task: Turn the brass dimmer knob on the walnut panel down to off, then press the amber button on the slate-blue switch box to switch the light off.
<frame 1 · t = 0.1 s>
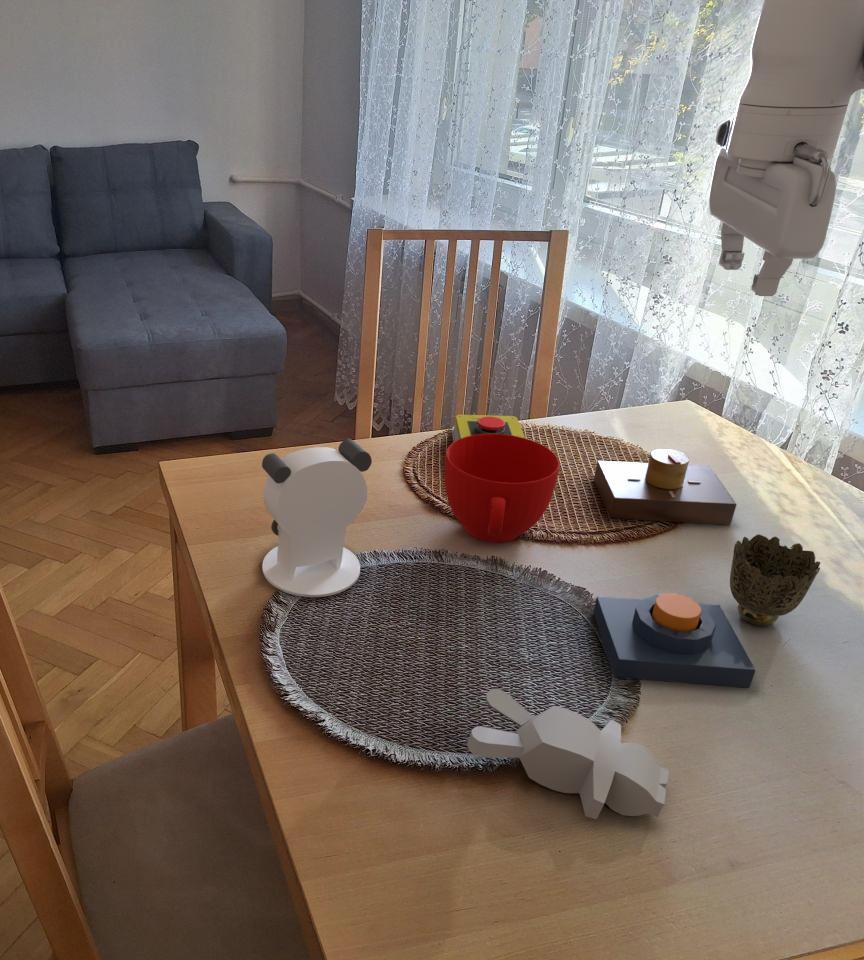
hand: (745, 280, 88), 31 cm above the table, tool pointing down, fingers open, 8 cm apart
panda figurine: (313, 568, 100), on the table
dimmer panel: (658, 501, 111), on the table
dimmer knob: (667, 467, 108), point 5 cm above the table, hinge at 100.0°
light button: (676, 612, 84), point 4 cm above the table, slide at 0.1 cm
bunny figurine: (562, 775, 72), on the table
switch box: (666, 648, 86), on the table
cup: (755, 619, 90), on the table
ceramic cup: (491, 538, 105), on the table
emergency button: (488, 453, 124), on the table
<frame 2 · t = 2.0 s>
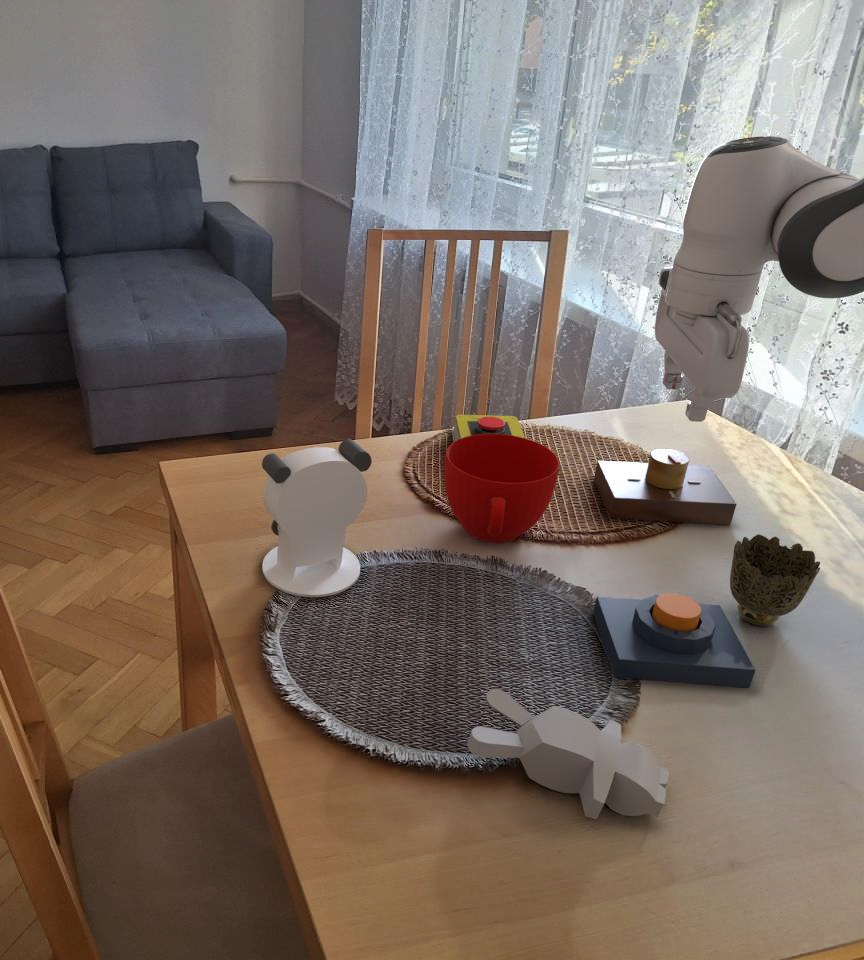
hand: (681, 402, 104), 14 cm above the table, tool pointing down, fingers open, 8 cm apart
nothing on the table moved.
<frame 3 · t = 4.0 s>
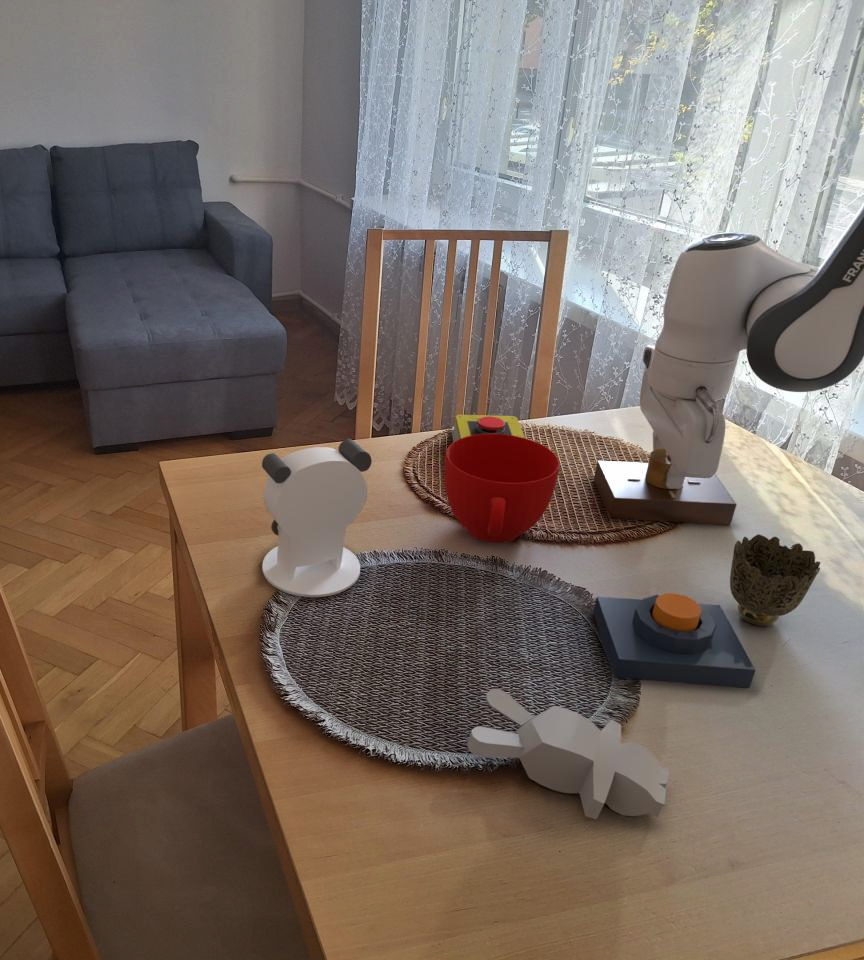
hand: (665, 474, 109), 4 cm above the table, tool pointing down, fingers closed on dimmer knob, 4 cm apart
dimmer knob: (667, 467, 108), point 5 cm above the table, hinge at 100.0°, touching gripper
everything else where it was.
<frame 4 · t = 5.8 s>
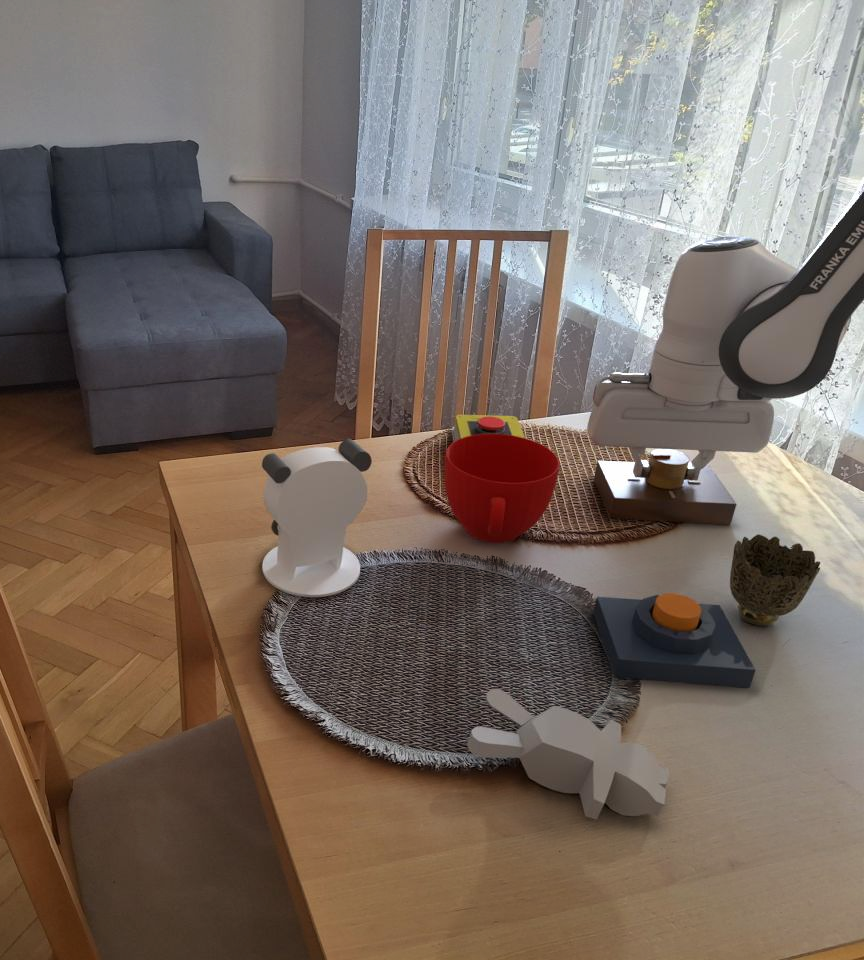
hand: (664, 476, 109), 4 cm above the table, tool pointing down, fingers closed on dimmer knob, 4 cm apart
dimmer knob: (667, 467, 108), point 5 cm above the table, hinge at 6.9°, touching gripper
everything else where it was.
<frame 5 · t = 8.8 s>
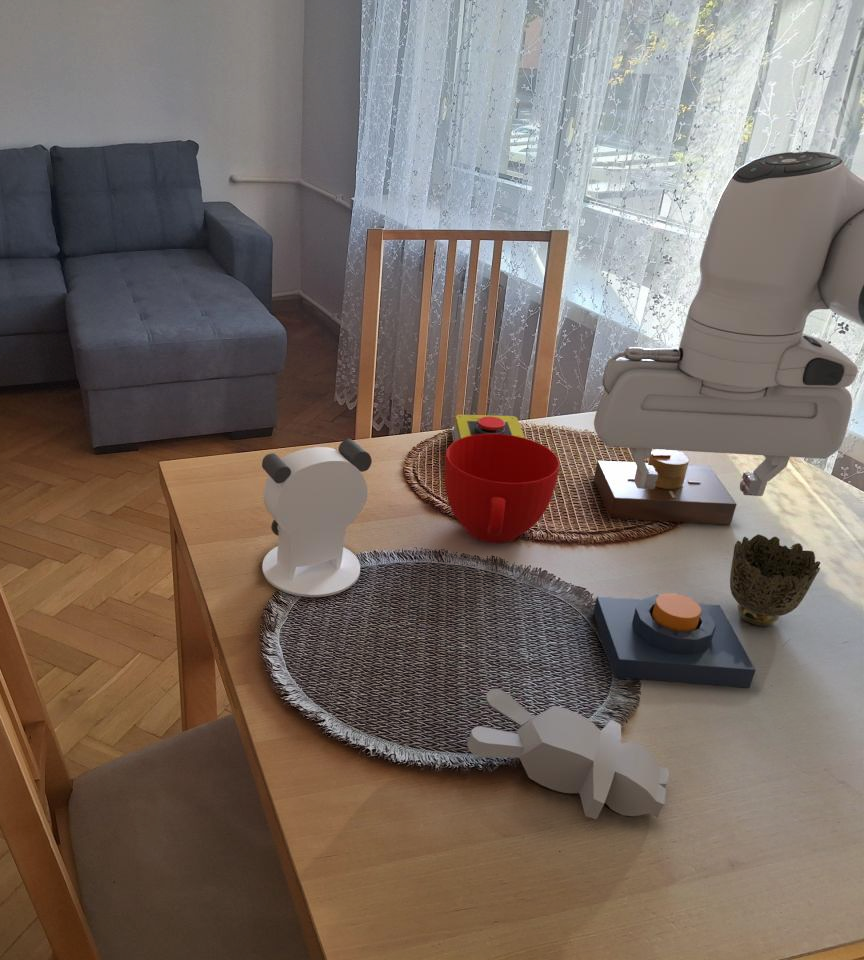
hand: (696, 489, 81), 16 cm above the table, tool pointing down, fingers open, 8 cm apart
dimmer knob: (667, 467, 108), point 5 cm above the table, hinge at 6.6°
everything else where it was.
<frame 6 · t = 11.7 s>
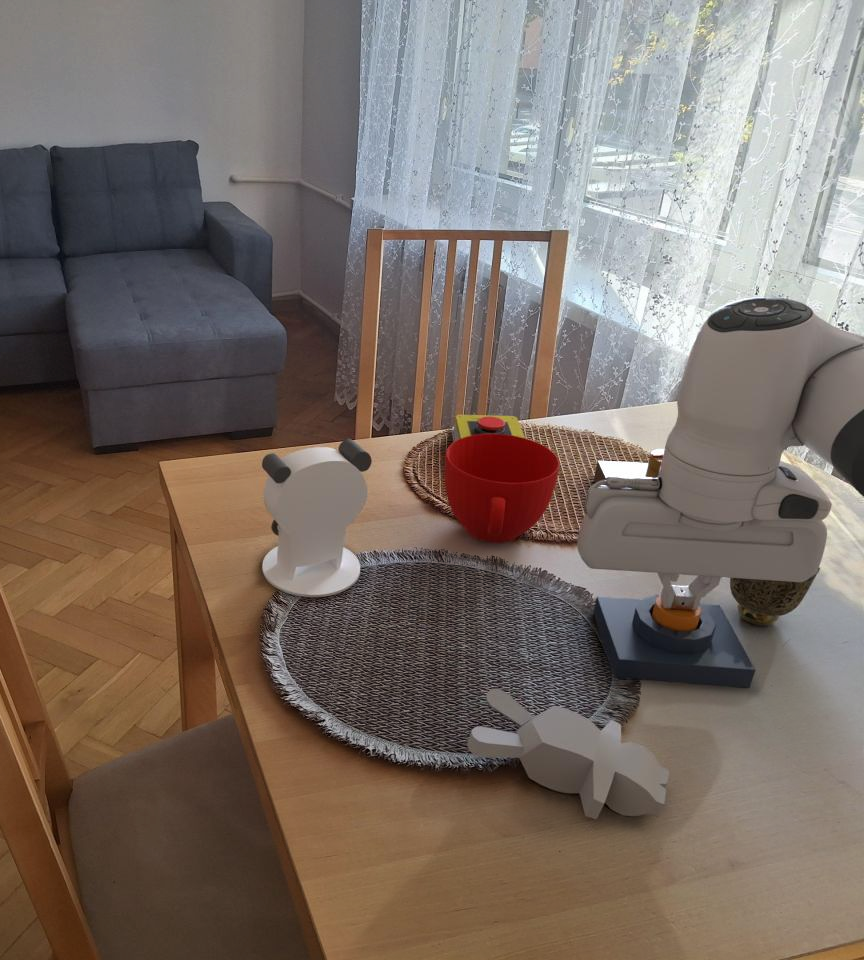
hand: (678, 606, 83), 5 cm above the table, tool pointing down, fingers closed, pressing on light button
light button: (676, 612, 84), point 4 cm above the table, slide at 0.0 cm, touching gripper
everything else where it was.
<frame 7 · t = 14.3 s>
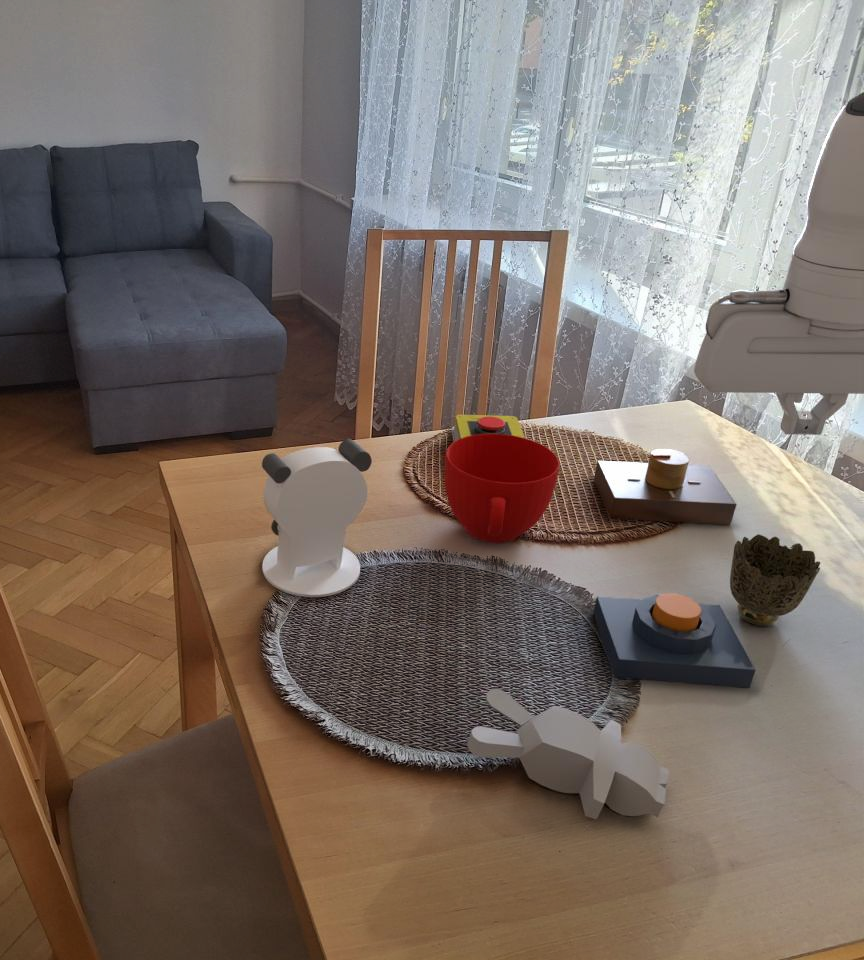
hand: (799, 432, 81), 21 cm above the table, tool pointing down, fingers closed
light button: (676, 612, 84), point 4 cm above the table, slide at 0.1 cm
everything else where it was.
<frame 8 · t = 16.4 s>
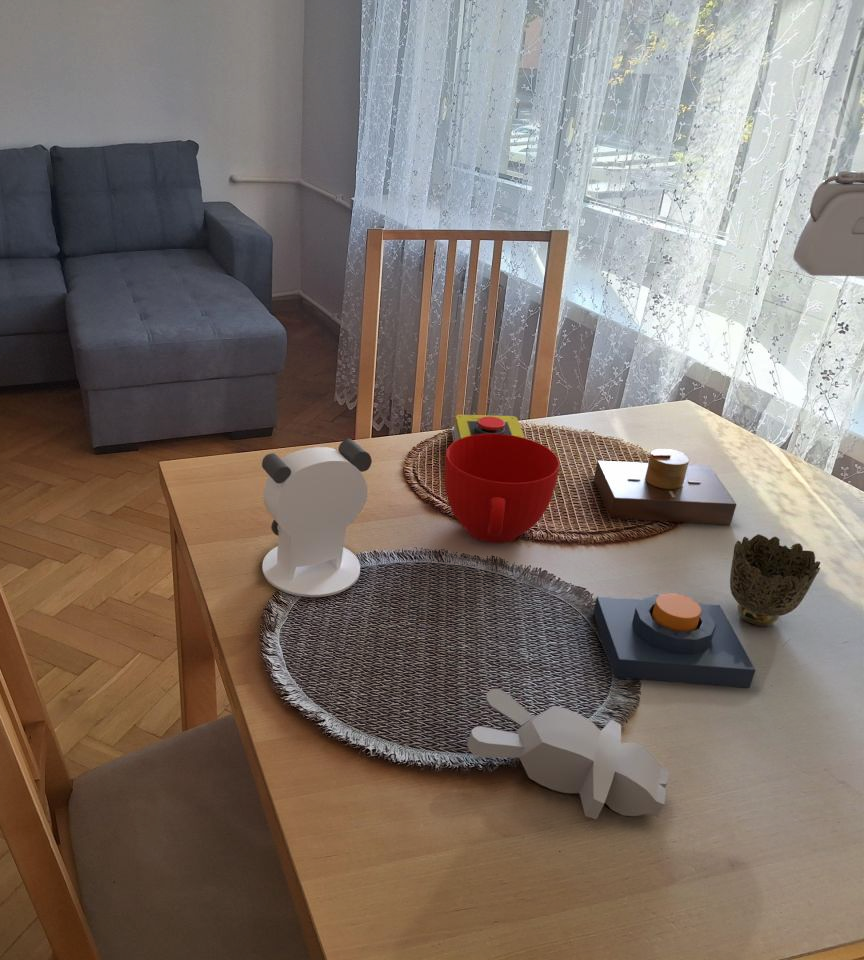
nothing on the table moved.
at the end: dimmer knob at +7° (first picture: +100°); light button pushed in 1.0 cm at the most during the clip, back to where it started at the end; light button slide at 0.1 cm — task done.
